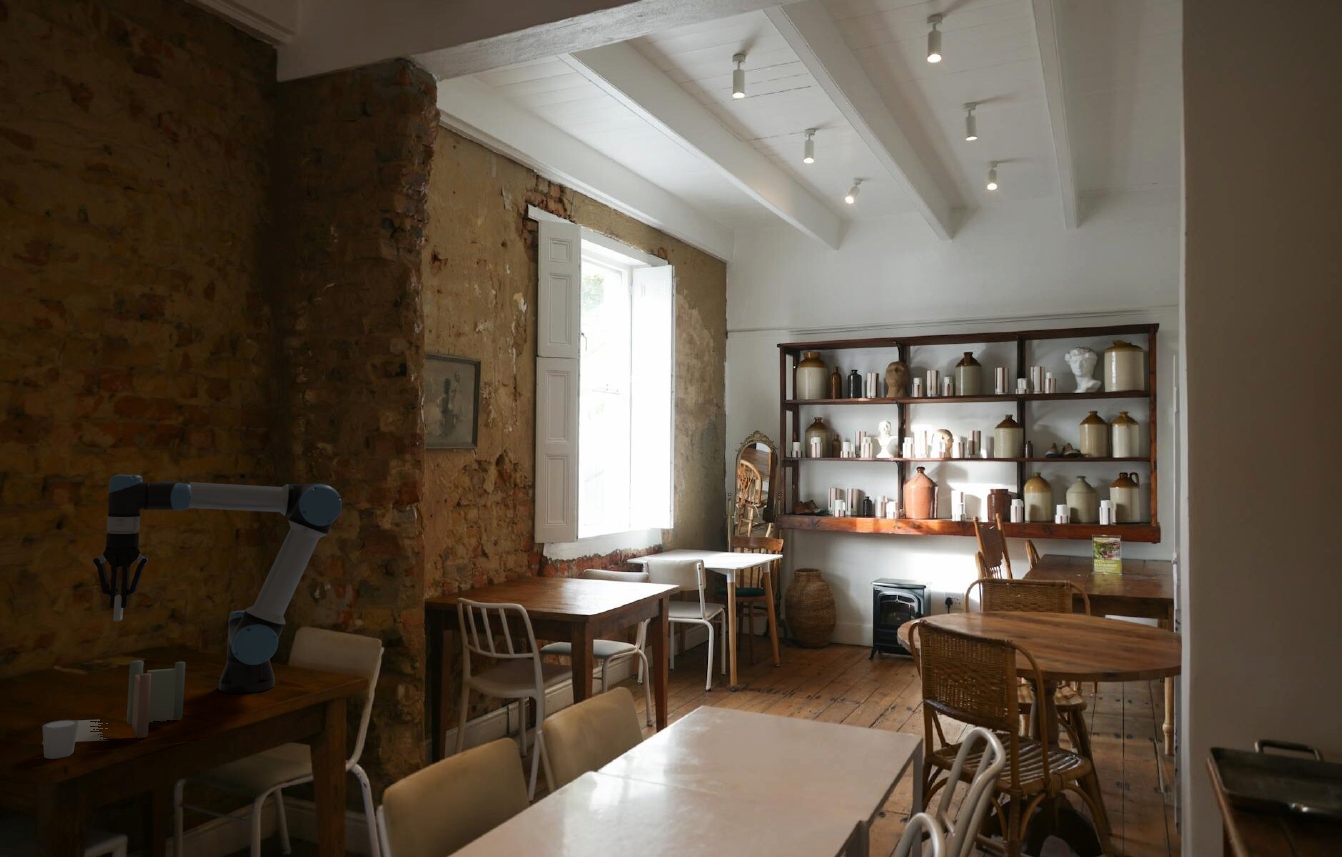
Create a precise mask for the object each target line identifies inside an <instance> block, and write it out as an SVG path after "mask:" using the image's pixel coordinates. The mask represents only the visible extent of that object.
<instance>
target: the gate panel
mask: <svg viewBox="0 0 1342 857" xmlns="http://www.w3.org/2000/svg"><path fill="white" fill-rule="evenodd" d="M150 689H151V674H150V673H143V674H136V675H135V683H134V701H133V718H132V728H133V730H134V731H135V733H136V737H137V739H144V738H147V737H149V726H148V724H149V707H150ZM149 725H150V724H149Z"/></svg>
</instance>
